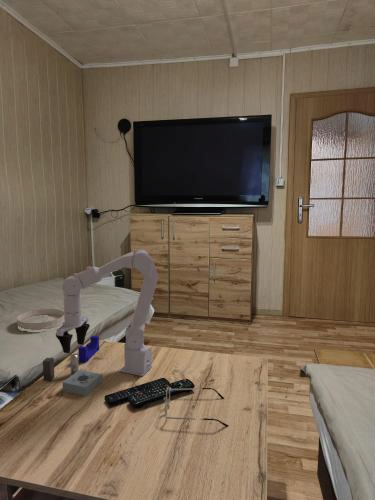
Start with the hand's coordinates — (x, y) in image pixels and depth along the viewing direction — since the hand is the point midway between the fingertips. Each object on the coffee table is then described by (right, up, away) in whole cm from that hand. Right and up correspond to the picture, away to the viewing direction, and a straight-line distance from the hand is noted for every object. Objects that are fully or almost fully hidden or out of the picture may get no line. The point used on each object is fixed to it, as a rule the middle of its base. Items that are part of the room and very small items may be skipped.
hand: (73, 348), depth 119 cm
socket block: (+5, -11, -7) cm, 14 cm away
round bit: (0, -10, +1) cm, 10 cm away
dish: (-33, -3, +50) cm, 59 cm away
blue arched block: (0, -8, +16) cm, 18 cm away
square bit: (-8, -10, -2) cm, 13 cm away
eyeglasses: (+42, -14, -19) cm, 48 cm away
